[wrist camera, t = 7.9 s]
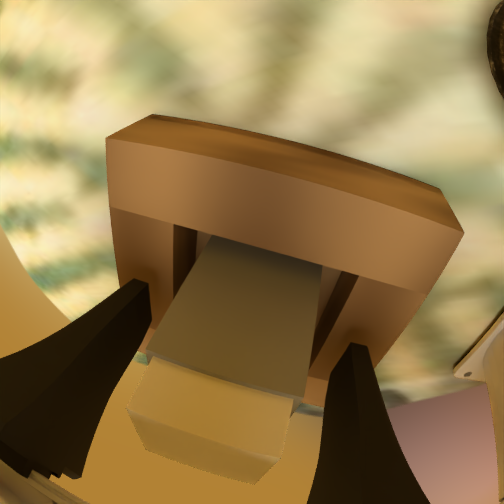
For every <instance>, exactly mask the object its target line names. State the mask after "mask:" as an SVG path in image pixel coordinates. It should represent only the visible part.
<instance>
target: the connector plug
mask: <svg viewBox="0 0 504 504" xmlns="http://www.w3.org/2000/svg"><path fill="white" fill-rule="evenodd" d="M322 266H323V265H320V264H317V263H313V262H309V261H306V260H302V259H299V258H295V257H292V256H288V255H284V254H281V253H277V252H274V251H270V250H267V249H263V248H259V247H256V246H252V245H249V244H245V243H241V242H238V241H234V240H230V239H227V238H223V237H220V236H216V235H212V236H211V238H210V239H209V241H208V243H207V244H206V246H205V248H204V249H203V251H202V253H201V254H200V256H199V257H198V259H197V261H196V262H195V264H194V266H193V267H192V269H191V271H190V272H189V274H188V276H187V277H186V279H185V281H184V283H183V284H182V286H181V288H180V289H179V291H178V293H177V294H176V296H175V298H174V300H173V301H172V303H171V305H170V306H169V308H168V310H167V312H166V313H165V315H164V317H163V319H162V320H161V322H160V324H159V326H158V327H157V329H156V331H155V333H154V334H153V336H152V338H151V340H150V341H149V343H148V345H147V347H146V348H145V350H146V356H147V361H148V367H147V369H146V371H145V372H144V374H143V376H142V378H141V380H140V382H139V384H138V386H137V388H136V390H135V392H134V393H133V395H132V397H131V399H130V401H129V403H128V405H127V407H126V409H127V411H128V413H129V415H130V418H131V420H132V422H133V424H134V426H135V429H136V431H137V433H138V435H139V437H140V439H141V441H142V443H143V445H144V447H145V449H146V450H148V451H151V452H153V453H156V454H158V455H160V456H163V457H166V458H168V459H171V460H174V461H177V462H179V463H182V464H185V465H188V466H191V467H194V468H197V469H200V470H203V471H206V472H210V473H213V474H217V475H220V476H223V477H227V478H231V479H234V480H238V481H242V482H246V483H250V484H256V483H257V481H259V480H260V479H261V478H262V477H263V476H264V475H265V474H266V473H267V472H268V471H269V470H270V469H271V467H273V466H274V465H275V464H276V463H277V462H278V461H279V460H280V459H281V456H282V451H283V447H284V442H285V437H286V433H287V428H288V424H289V419H290V417H291V416H292V414H293V413H294V411H295V410H296V409H297V407H298V406H299V404H300V403H301V401H302V400H303V398H304V394H305V388H306V382H307V376H308V370H309V364H310V358H311V351H312V344H313V338H314V331H315V323H316V316H317V308H318V301H319V293H320V284H321V275H322Z"/></svg>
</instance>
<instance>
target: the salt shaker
mask: <svg viewBox="0 0 504 504" xmlns="http://www.w3.org/2000/svg"><path fill="white" fill-rule="evenodd" d="M487 52H488V58H489V62H490V67H491V71H492V75H493V77H494V79H495V82H496V84H497V87H498V89H499V92H500V93H501V95H502V96H503V98H504V0H503V1H501V2H500V3H499V4H498V5H497V6H496V8H495V10H494V12H493V14H492V16H491V18H490V21H489V27H488V32H487Z"/></svg>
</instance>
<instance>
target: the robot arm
mask: <svg viewBox="0 0 504 504" xmlns="http://www.w3.org/2000/svg"><path fill="white" fill-rule="evenodd" d="M151 322H152V313H151V303H150V292H149V283H147V282H144V281H141V280H138V279H135V278H133V279H132V280H130V281H129V282H128V283H126V284H125V285H123V286H122V287H121V288H119V289H118V290H117V291H115V292H114V293H113V294H111V295H110V296H109V297H107V298H106V299H105V300H103V301H102V302H101V303H99V304H98V305H96V306H95V307H94V308H92V309H91V310H89V311H88V312H87V313H85V314H84V315H82V316H81V317H79V318H78V319H76V320H75V321H73V322H72V323H70V324H69V325H67V326H66V327H64V328H62V329H61V330H59V331H57V332H56V333H54V334H52V335H50V336H49V337H47V338H45V339H43V340H41V341H39V342H37V343H35V344H33V345H31V346H29V347H27V348H25V349H23V350H21V351H18V352H16V353H14V354H11V355H8V356H6V357H3V358H0V504H89V503H87V502H85V501H84V500H82V499H80V498H79V497H77V496H75V495H73V494H72V493H70V492H68V491H66V490H65V489H63V488H61V487H60V486H58V485H57V484H55V483H54V482H52V481H50V480H49V478H50V476H51V474H52V475H54V476H56V477H57V478H60V476H61V474H62V473H63V474H65V475H66V476H68V477H70V478H72V479H78V478H80V477H82V472H83V469H84V465H85V462H86V458H87V454H88V452H89V449H90V446H91V443H92V440H93V437H94V434H95V431H96V429H97V426H98V424H99V421H100V419H101V416H102V414H103V412H104V409H105V407H106V405H107V402H108V400H109V398H110V396H111V394H112V392H113V390H114V389H115V387H116V385H117V383H118V382H119V380H120V378H121V377H122V375H123V373H124V372H125V370H126V368H127V367H128V365H129V364H130V362H131V360H132V359H133V357H134V355H135V354H136V352H137V350H138V349H139V347H140V345H141V344H142V342H143V339H144V337H145V335H146V333H147V331H148V329H149V326H150V324H151ZM453 372H454V376H455V377H457V378H463V379H469V380H476V381H483V382H486V383H487V389H488V394H489V399H490V405H491V411H492V418H493V425H494V433H495V442H496V452H497V463H498V464H497V465H498V484H499V502H501V503H500V504H504V312H503V313H502V315H501V316H500V317H499V318H498V320H497V321H496V322H495V323H494V325H493V326H492V327H491V328H490V329H489V331H488V332H487V333H486V334H485V335H484V336H483V338H482V339H481V340H480V341H479V342H478V343H477V344H476V345H475V347H474V348H473V349H472V350H471V351H470V352H469V353H468V354H467V355H466V356H465V357H464V359H463V360H462V361H461V362H460V363H459V364H458V365H457V366H456V367H455V368H454V370H453ZM307 504H430V502H429V500H428V499H427V497H426V496H425V494H424V492H423V491H422V489H421V487H420V485H419V484H418V482H417V480H416V478H415V476H414V474H413V473H412V471H411V469H410V467H409V465H408V463H407V461H406V459H405V456H404V454H403V452H402V450H401V447H400V445H399V443H398V441H397V438H396V436H395V433H394V430H393V428H392V425H391V422H390V419H389V417H388V414H387V411H386V408H385V404H384V401H383V398H382V395H381V392H380V389H379V385H378V382H377V378H376V375H375V371H374V368H373V364H372V361H371V357H370V353H369V349H368V347H367V346H365V345H361V344H357V343H353V342H350V344H349V345H348V347H347V349H346V350H345V352H344V353H343V355H342V356H341V358H340V359H339V361H338V362H337V364H336V365H335V367H334V368H333V370H332V371H331V373H330V377H329V382H328V387H327V392H326V397H325V405H324V416H323V426H322V435H321V444H320V453H319V459H318V464H317V468H316V472H315V476H314V480H313V484H312V488H311V491H310V494H309V498H308V501H307Z"/></svg>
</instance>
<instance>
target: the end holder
mask: <svg viewBox="0 0 504 504" xmlns="http://www.w3.org/2000/svg"><path fill="white" fill-rule="evenodd" d="M106 165H107V182H108V195H109V207H110V217H111V227H112V235H113V244H114V251H115V259H116V266H117V272H118V279H119V285H120V288H121V287H122V286H123V285H125V284H126V283H128V282H129V281H130V280H132V279H133V278H135V279H138V280H141V281H144V282H147V283H149V292H150V303H151V313H152V322H151V324H150V326H149V329H148V331H147V333H146V335H145V337H144V339H143V342H142V344H141V345H140V347H139V349H138V350H137V351H140V352H142V353H145V354H146V350H145V348H146V347H147V345H148V343H149V341H150V340H151V338H152V336H153V334H154V333H155V331H156V329H157V327H158V326H159V324H160V322H161V320H162V319H163V317H164V315H165V313H166V312H167V310H168V308H169V306H170V305H171V303H172V301H173V300H174V298H175V296H176V294H177V293H178V291H179V289H180V288H181V286H182V284H183V283H184V281H185V279H186V277H187V276H188V274H189V272H190V271H191V269H192V267H193V266H194V264H195V262H196V261H197V259H198V257H199V256H200V254H201V253H202V251H203V249H204V248H205V246H206V244H207V243H208V241H209V239H210V238H211V236H212V235H216V236H220V237H223V238H227V239H230V240H234V241H238V242H241V243H245V244H249V245H252V246H256V247H259V248H263V249H267V250H270V251H274V252H277V253H281V254H284V255H288V256H292V257H295V258H299V259H302V260H306V261H309V262H313V263H317V264H320V265H323V266H322V275H321V284H320V293H319V301H318V308H317V316H316V323H315V331H314V338H313V344H312V351H311V358H310V364H309V370H308V376H307V382H306V388H305V394H304V398H303V400H302V401H301V402H302V403H307V404H311V405H316V406H320V407H324V405H325V397H326V392H327V387H328V382H329V377H330V373H331V371H332V370H333V368H334V367H335V365H336V364H337V362H338V361H339V359H340V358H341V356H342V355H343V353H344V352H345V350H346V349H347V347H348V345H349V344H350V342H353V343H357V344H361V345H365V346H367V347H368V349H369V353H370V357H371V361H372V364H373V368H375V367H376V365H377V364H378V363H379V362H380V360H381V359H382V358H383V357H384V355H385V354H386V353H387V351H388V350H389V349H390V348H391V346H392V345H393V344H394V342H395V341H396V340H397V338H398V337H399V336H400V334H401V333H402V331H403V330H404V329H405V327H406V326H407V325H408V323H409V322H410V320H411V319H412V317H413V316H414V315H415V313H416V312H417V310H418V309H419V307H420V306H421V304H422V303H423V301H424V300H425V298H426V297H427V295H428V294H429V292H430V291H431V289H432V287H433V286H434V284H435V283H436V281H437V280H438V278H439V276H440V275H441V273H442V271H443V270H444V268H445V266H446V265H447V263H448V261H449V260H450V258H451V256H452V255H453V253H454V251H455V249H456V248H457V246H458V244H459V242H460V240H461V239H462V237H463V235H464V231H463V229H462V227H461V225H460V223H459V222H458V220H457V218H456V216H455V214H454V213H453V211H452V209H451V207H450V206H449V204H448V202H447V200H446V199H445V197H444V195H443V194H442V192H441V190H440V189H438V188H436V187H433V186H431V185H428V184H426V183H423V182H420V181H418V180H415V179H412V178H410V177H407V176H404V175H401V174H398V173H396V172H393V171H390V170H387V169H384V168H381V167H378V166H375V165H372V164H369V163H366V162H363V161H359V160H356V159H353V158H350V157H347V156H343V155H340V154H336V153H333V152H330V151H326V150H323V149H319V148H315V147H312V146H308V145H304V144H300V143H297V142H293V141H289V140H285V139H281V138H277V137H272V136H268V135H264V134H259V133H255V132H250V131H246V130H241V129H236V128H231V127H226V126H221V125H216V124H210V123H205V122H199V121H193V120H187V119H181V118H175V117H168V116H161V115H154V114H152V115H150V116H148V117H145V118H143V119H141V120H139V121H137V122H135V123H133V124H131V125H129V126H127V127H125V128H123V129H121V130H120V131H118V132H116V133H114V134H112V135H110V136H108V137H106Z"/></svg>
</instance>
